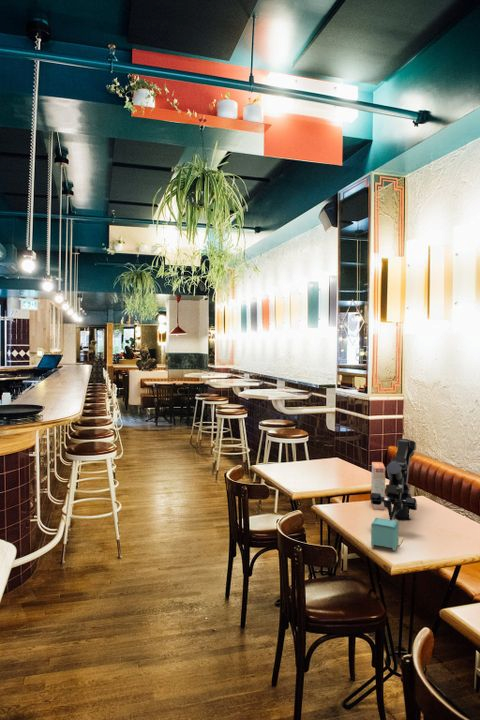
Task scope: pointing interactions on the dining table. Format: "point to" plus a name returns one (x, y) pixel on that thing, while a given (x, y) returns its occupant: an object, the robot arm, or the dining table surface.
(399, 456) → the robot arm
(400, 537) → the parcel base
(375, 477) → the cracker box
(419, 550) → the dining table surface
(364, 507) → the dining table surface
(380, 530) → the cover
